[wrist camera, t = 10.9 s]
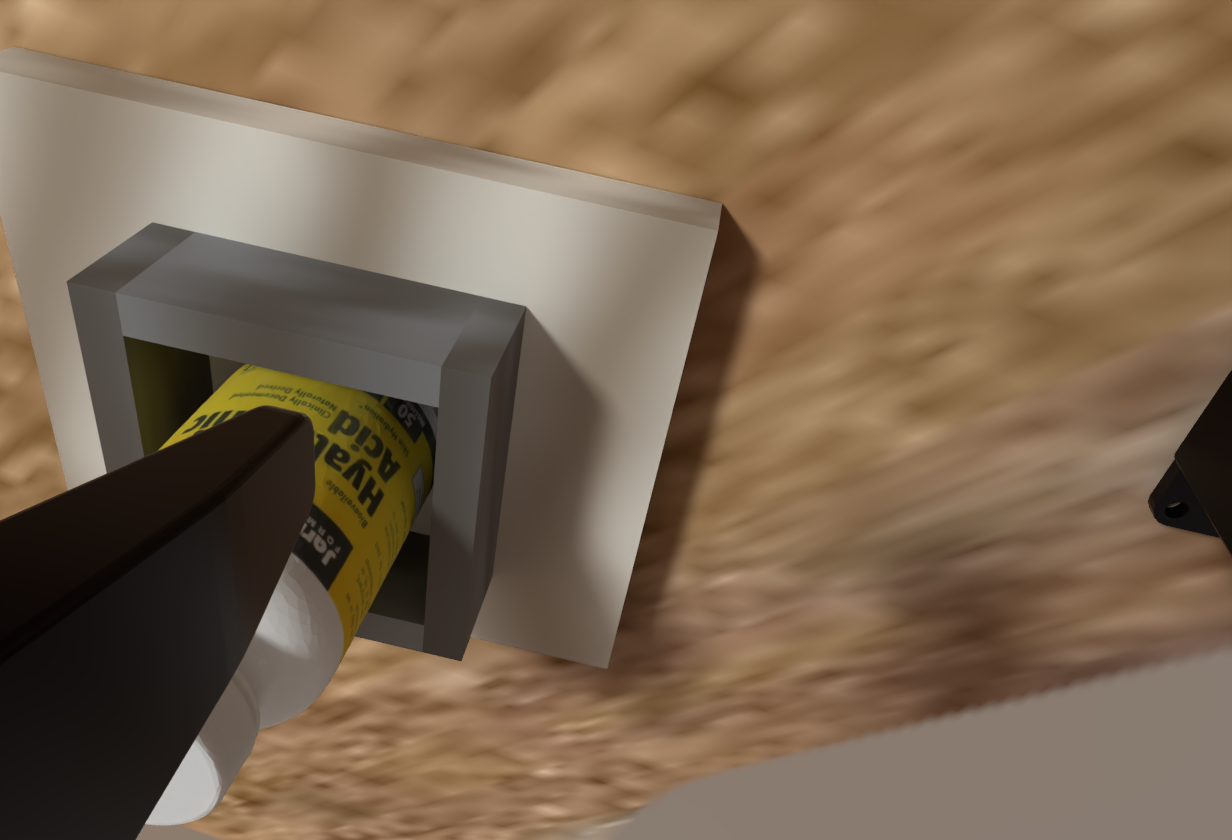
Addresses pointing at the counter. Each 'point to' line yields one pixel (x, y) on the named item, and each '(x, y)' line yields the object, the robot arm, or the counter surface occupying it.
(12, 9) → the counter surface
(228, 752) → the supplement bottle
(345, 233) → the holder board
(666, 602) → the counter surface
